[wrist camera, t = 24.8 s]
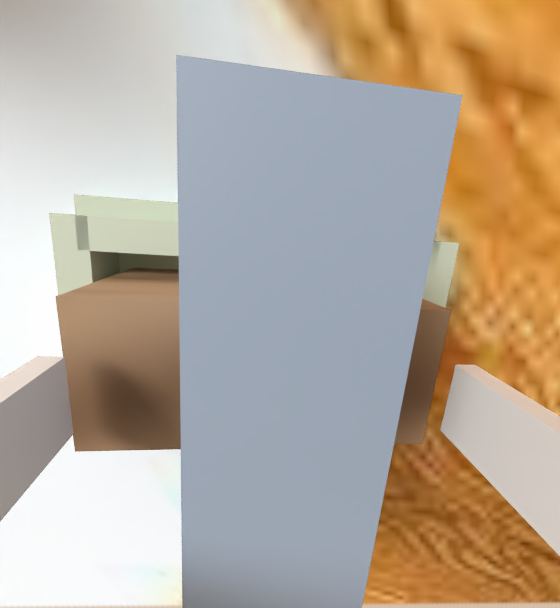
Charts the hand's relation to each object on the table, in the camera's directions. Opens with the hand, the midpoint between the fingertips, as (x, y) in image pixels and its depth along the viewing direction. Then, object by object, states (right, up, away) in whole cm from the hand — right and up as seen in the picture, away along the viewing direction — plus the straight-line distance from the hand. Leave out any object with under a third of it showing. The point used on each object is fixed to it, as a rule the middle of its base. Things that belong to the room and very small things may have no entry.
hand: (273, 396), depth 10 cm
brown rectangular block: (-1, +2, +8) cm, 8 cm away
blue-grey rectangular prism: (0, 0, +1) cm, 1 cm away
